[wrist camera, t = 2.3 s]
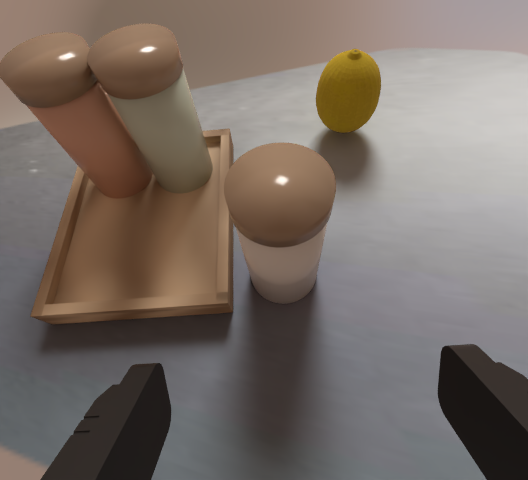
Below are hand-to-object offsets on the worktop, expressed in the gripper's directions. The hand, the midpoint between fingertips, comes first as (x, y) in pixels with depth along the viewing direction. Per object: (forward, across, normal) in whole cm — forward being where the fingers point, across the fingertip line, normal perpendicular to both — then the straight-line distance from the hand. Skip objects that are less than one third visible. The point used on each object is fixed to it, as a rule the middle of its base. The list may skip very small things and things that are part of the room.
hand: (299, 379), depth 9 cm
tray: (+19, +11, -1) cm, 22 cm away
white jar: (+15, 0, +3) cm, 16 cm away
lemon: (+26, -7, -8) cm, 28 cm away
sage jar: (+22, +8, -5) cm, 24 cm away
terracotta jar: (+22, +14, -5) cm, 26 cm away
